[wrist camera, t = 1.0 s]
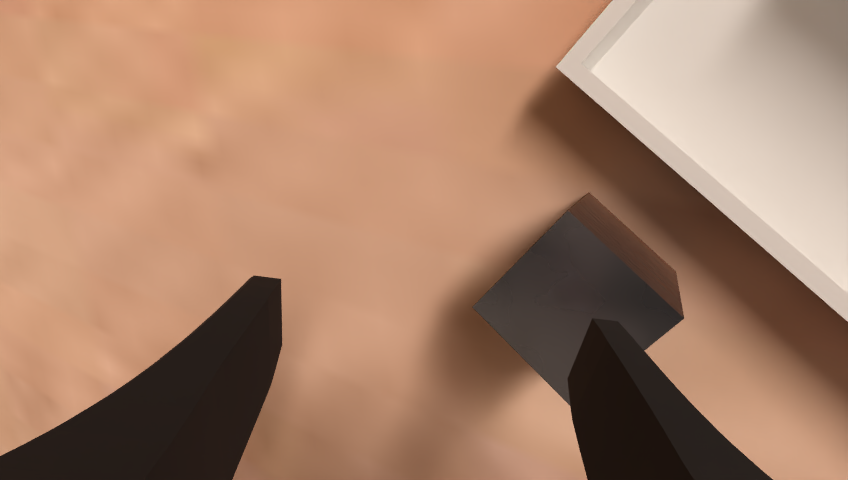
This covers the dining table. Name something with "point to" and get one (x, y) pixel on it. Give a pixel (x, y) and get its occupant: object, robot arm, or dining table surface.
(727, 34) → the tote
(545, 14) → the dining table surface
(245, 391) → the robot arm
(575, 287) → the metal block
